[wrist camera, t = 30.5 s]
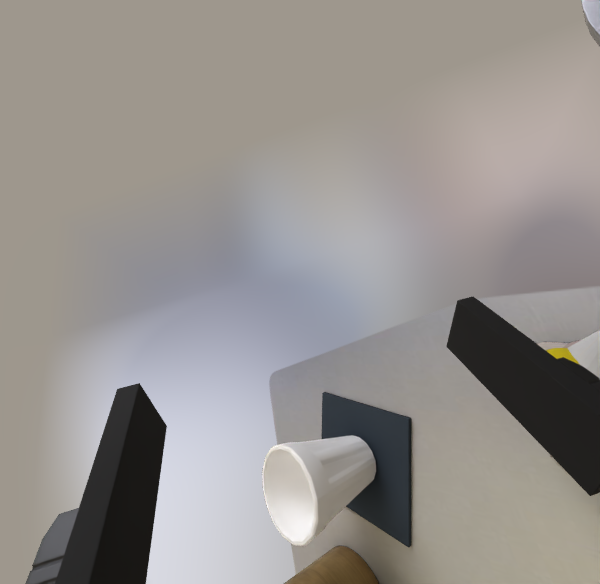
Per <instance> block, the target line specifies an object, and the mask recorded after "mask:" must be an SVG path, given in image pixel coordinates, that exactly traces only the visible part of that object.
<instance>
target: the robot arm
mask: <svg viewBox="0 0 600 584" xmlns="http://www.w3.org/2000/svg"><path fill="white" fill-rule="evenodd" d="M447 348H448V349H449V350H450V351H451V352H452V353H453V354H454V355H455V356H456V357H457V358H458V359H459V360H460V361H461V362H462V363H463V364H464V365H465V366H466V367H467V368H468V369H469V370H470V371H471V372H472V374H473V375H474V376H475V377H476V378H477V379H478V380H479V381H480V382H481V383H482V384H483V385H484V386H485V387H486V388H487V389H488V390H489V391H490V392H491V393H492V394H493V395H494V396H495V397H496V398H497V400H498V401H499V402H500V403H501V404H502V405H503V406H504V407H505V408H506V409H507V410H508V411H509V412H510V413H511V414H512V415H513V416H514V417H515V418H516V419H517V420H518V421H519V422H520V423H521V424H522V426H523V427H524V428H525V429H526V430H527V431H528V432H529V433H530V434H531V435H532V436H533V437H534V438H535V439H536V440H537V441H538V442H539V443H540V444H541V445H542V446H543V447H544V448H545V449H546V450H547V452H548V453H549V454H550V455H551V456H552V457H553V458H554V459H555V460H556V461H557V462H558V463H559V464H560V465H561V466H562V467H563V468H564V469H565V470H566V471H567V472H568V473H569V474H570V475H571V476H572V478H573V479H574V480H575V481H576V482H577V483H578V484H579V485H580V486H581V487H582V488H583V489H584V490H585V491H586V492H587V493H588V494H589V495H590V496H592V495H594V494H597V493H599V492H600V379H599V377H597V376H596V375H595V374H593V373H592V372H590V371H589V370H587V369H586V368H585V367H583V366H582V365H579V364H577V363H575V362H573V361H571V360H569V359H566V358H564V357H562V358H558V359H556V358H555V357H554V356H552V355H551V354H550V353H548V352H547V351H546V350H544V349H543V348H542V347H540V346H539V345H538V344H536V343H535V342H534V341H532V340H531V339H530V338H528V337H527V336H525V335H524V334H523V333H521V332H520V331H519V330H517V329H516V328H515V327H513V326H512V325H511V324H509V323H508V322H507V321H505V320H504V319H503V318H501V317H500V316H499V315H497V314H496V313H495V312H493V311H492V310H491V309H489V308H488V307H487V306H485V305H484V304H483V303H481V302H480V301H479V300H477V299H476V298H474V297H469V298H466V299H462V300H458V301H457V305H456V309H455V313H454V317H453V322H452V326H451V330H450V334H449V338H448V342H447ZM166 427H167V426H166V424H165V423H164V421H163V420H162V418H161V416H160V415H159V413H158V412H157V410H156V409H155V407H154V406H153V404H152V402H151V401H150V399H149V398H148V396H147V394H146V393H145V391H144V390H143V388H142V387H141V385H140V383H139V384H135V385H131V386H127V387H123V388H120V389H117V392H116V395H115V398H114V401H113V404H112V407H111V411H110V414H109V417H108V420H107V423H106V426H105V429H104V432H103V435H102V438H101V441H100V445H99V448H98V451H97V454H96V457H95V460H94V463H93V467H92V470H91V473H90V476H89V479H88V482H87V485H86V488H85V491H84V494H83V498H82V501H81V504H80V507H79V508H77V509H74V510H71V511H68V512H64V513H61V514H59V515H58V517H57V518H56V520H55V521H54V523H53V524H52V526H51V527H50V529H49V530H48V532H47V533H46V535H45V536H44V538H43V539H42V542H41V544H40V547H39V550H38V552H37V555H36V558H35V560H34V563H33V565H32V566H33V569H32V571H30V573H29V576H28V579H27V581H26V584H146V577H147V569H148V562H149V553H150V547H151V539H152V531H153V524H154V517H155V509H156V501H157V494H158V486H159V479H160V472H161V464H162V456H163V449H164V442H165V434H166Z"/></svg>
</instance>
